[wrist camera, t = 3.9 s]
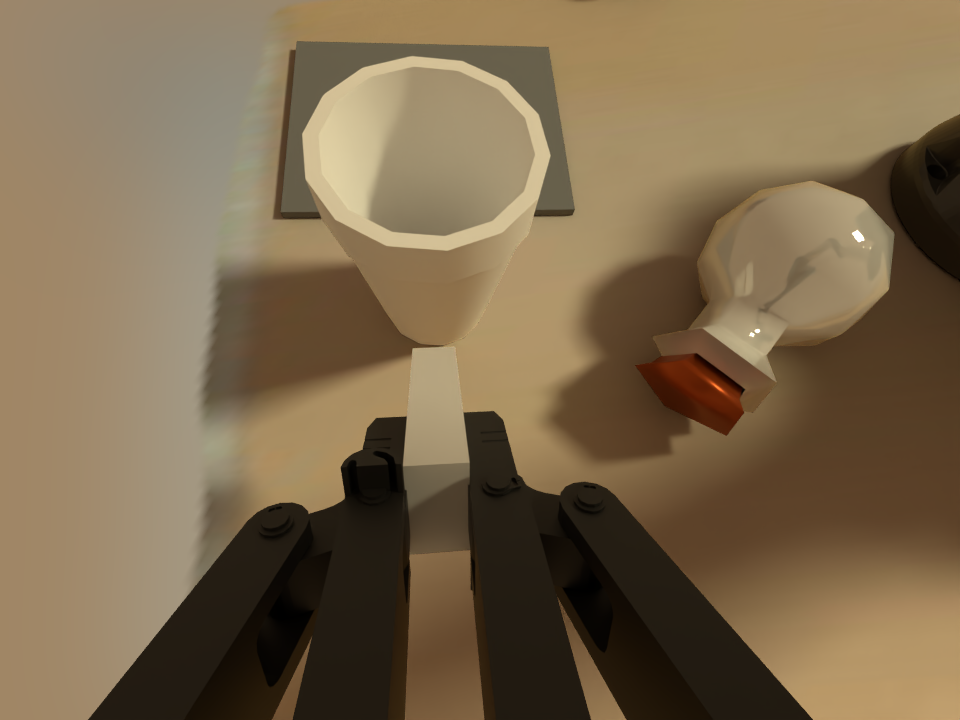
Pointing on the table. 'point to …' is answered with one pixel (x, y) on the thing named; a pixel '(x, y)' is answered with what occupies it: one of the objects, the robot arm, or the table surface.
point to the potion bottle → (771, 296)
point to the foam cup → (427, 186)
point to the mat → (514, 64)
